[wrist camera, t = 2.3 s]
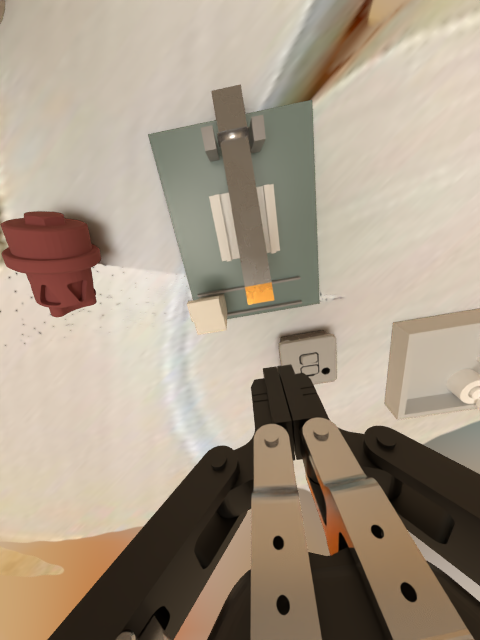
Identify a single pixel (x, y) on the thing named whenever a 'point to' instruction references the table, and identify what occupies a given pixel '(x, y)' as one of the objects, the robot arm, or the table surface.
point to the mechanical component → (53, 259)
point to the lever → (243, 192)
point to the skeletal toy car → (466, 385)
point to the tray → (430, 363)
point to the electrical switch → (311, 355)
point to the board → (212, 181)
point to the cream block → (209, 313)
